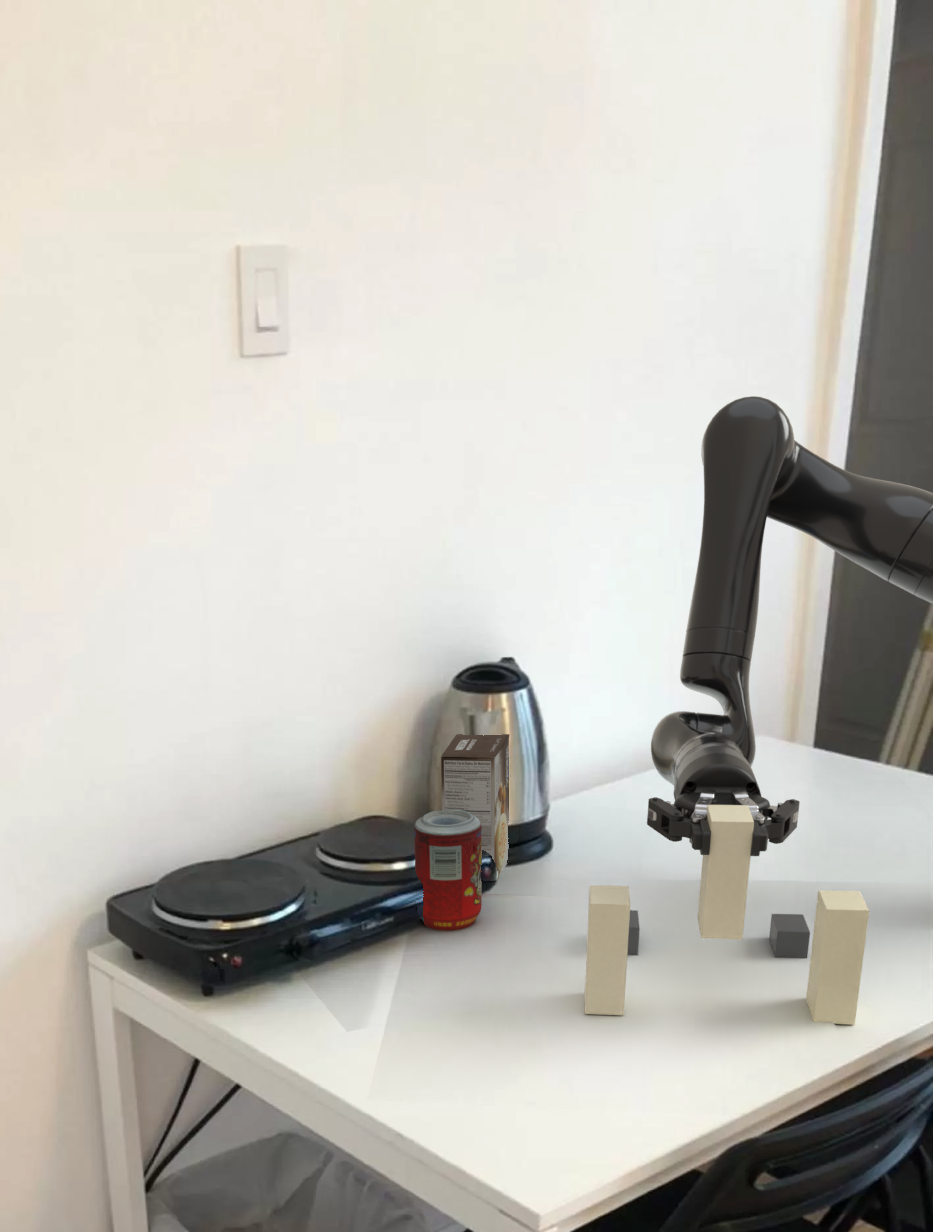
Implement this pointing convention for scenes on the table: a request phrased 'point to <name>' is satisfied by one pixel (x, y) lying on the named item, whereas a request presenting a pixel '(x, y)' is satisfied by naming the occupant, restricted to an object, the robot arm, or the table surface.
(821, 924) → the beige tall block
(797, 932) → the charcoal foam cube
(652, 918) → the table surface
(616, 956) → the cream rectangular block
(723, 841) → the tall beige block
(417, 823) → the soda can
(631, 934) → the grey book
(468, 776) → the coffee box
